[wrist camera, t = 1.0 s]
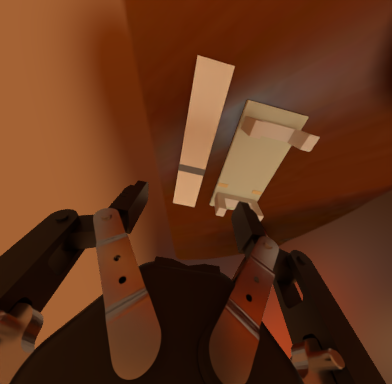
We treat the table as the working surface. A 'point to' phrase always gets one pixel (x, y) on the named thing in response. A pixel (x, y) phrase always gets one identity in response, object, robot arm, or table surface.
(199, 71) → the beige bar
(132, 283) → the robot arm
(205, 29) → the table surface
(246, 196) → the cream footed plank
